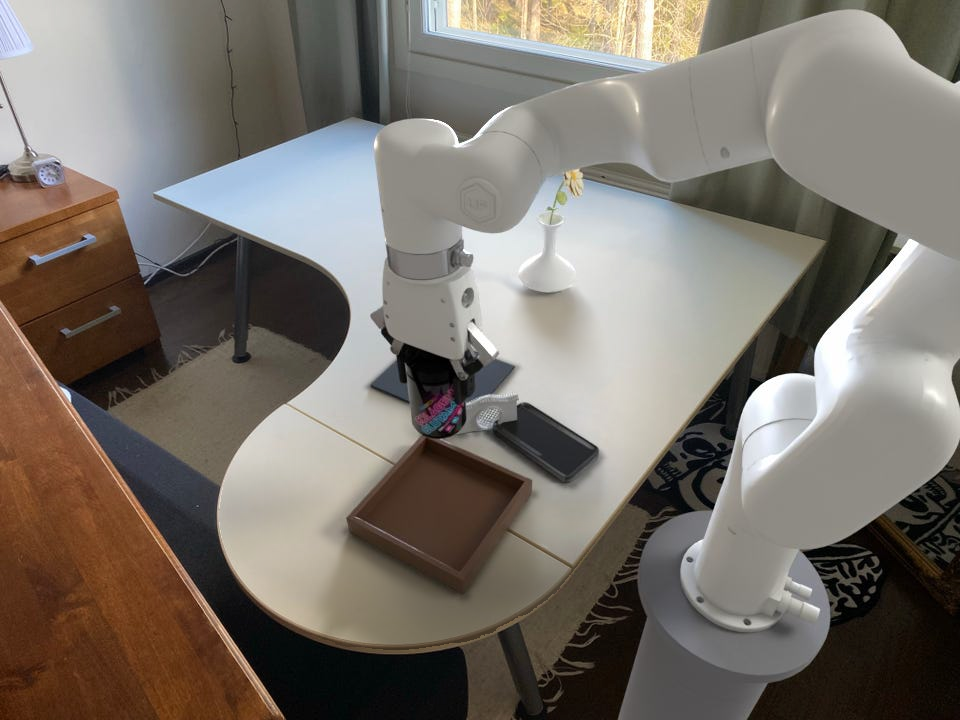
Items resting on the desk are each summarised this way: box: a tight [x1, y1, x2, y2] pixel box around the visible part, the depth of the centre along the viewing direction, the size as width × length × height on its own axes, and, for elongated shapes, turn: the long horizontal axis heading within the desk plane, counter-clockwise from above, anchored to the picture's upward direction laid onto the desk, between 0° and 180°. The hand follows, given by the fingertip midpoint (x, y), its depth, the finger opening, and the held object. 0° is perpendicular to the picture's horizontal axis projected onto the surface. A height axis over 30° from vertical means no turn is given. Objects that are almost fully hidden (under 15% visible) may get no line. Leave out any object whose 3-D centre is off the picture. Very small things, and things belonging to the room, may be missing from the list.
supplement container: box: [404, 345, 467, 440], centre depth 77 cm, size 7×7×10 cm
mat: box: [370, 350, 516, 404], centre depth 110 cm, size 18×16×1 cm
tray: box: [345, 435, 533, 595], centre depth 88 cm, size 18×18×3 cm
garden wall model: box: [454, 391, 520, 436], centre depth 99 cm, size 12×2×6 cm, turn 103°
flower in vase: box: [517, 168, 585, 293], centre depth 124 cm, size 13×11×25 cm
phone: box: [492, 401, 600, 483], centre depth 98 cm, size 8×1×15 cm
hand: (436, 385), depth 77 cm, fingers closed on supplement container, 6 cm apart
